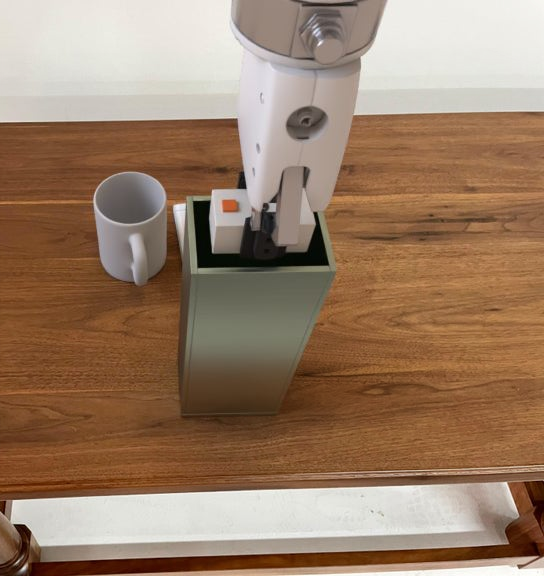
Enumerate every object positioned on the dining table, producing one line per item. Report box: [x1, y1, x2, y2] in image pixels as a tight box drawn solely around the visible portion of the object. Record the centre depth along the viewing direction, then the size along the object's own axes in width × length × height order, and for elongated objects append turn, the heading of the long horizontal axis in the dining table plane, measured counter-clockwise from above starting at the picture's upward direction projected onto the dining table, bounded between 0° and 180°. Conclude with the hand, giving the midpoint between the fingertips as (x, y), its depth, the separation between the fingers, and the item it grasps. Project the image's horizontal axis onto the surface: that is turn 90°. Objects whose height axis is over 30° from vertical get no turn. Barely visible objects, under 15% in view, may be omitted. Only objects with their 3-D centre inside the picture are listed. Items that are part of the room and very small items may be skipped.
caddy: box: [177, 195, 338, 418], centre depth 56 cm, size 10×8×27 cm
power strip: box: [209, 188, 316, 254], centre depth 44 cm, size 4×7×4 cm, turn 91°
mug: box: [93, 171, 168, 287], centre depth 72 cm, size 12×8×11 cm
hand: (258, 231), depth 45 cm, fingers closed on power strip, 3 cm apart
